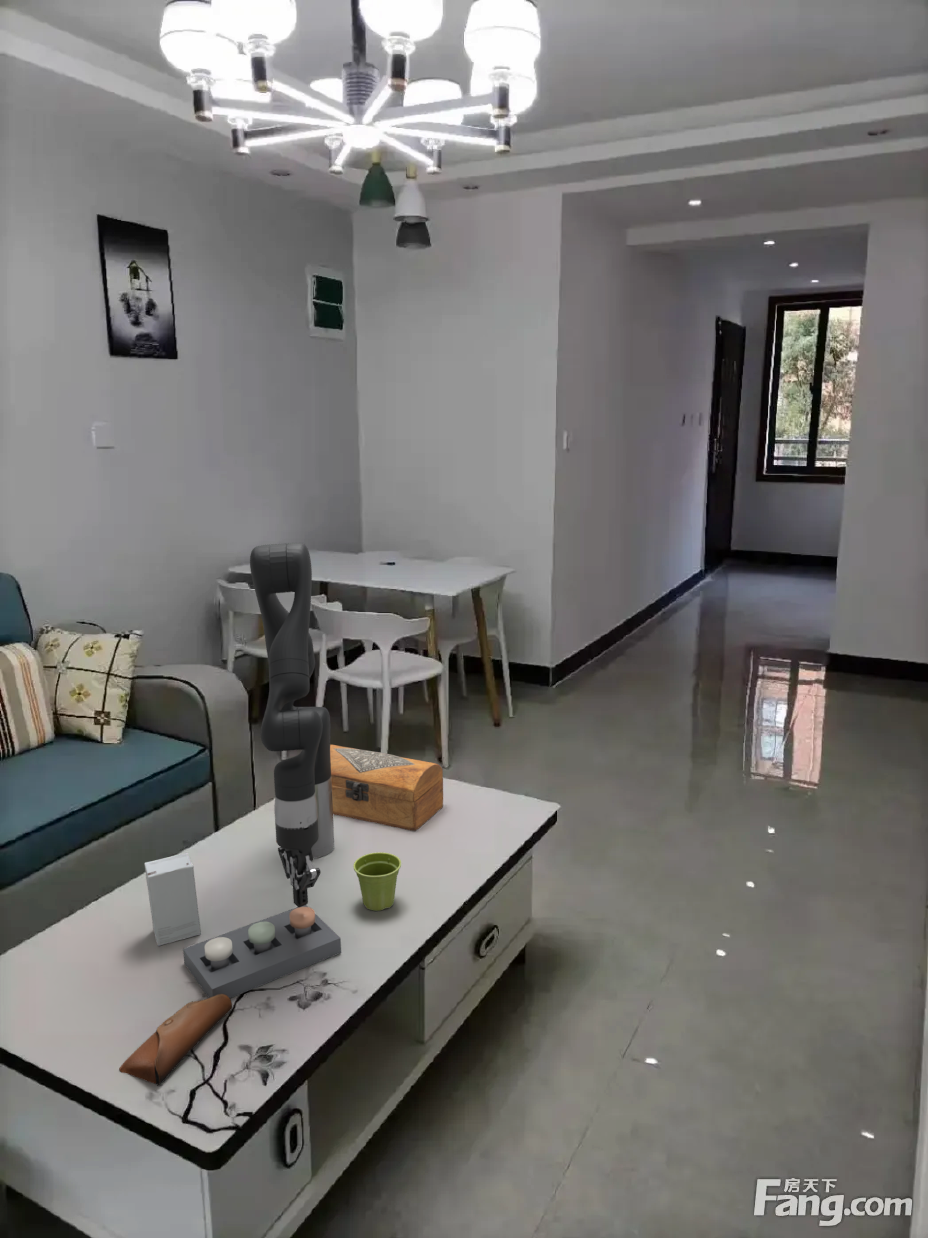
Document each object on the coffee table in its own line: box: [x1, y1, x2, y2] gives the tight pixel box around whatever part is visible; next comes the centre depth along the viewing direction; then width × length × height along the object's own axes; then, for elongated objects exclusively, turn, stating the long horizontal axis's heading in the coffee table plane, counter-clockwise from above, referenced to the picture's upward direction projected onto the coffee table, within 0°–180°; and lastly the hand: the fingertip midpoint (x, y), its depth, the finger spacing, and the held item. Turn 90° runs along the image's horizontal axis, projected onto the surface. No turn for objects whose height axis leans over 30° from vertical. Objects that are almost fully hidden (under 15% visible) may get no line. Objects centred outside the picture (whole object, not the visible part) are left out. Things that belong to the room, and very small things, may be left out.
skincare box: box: [144, 852, 202, 947], centre depth 165 cm, size 8×6×15 cm
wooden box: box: [330, 744, 444, 832], centre depth 216 cm, size 30×16×14 cm, turn 64°
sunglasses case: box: [118, 994, 233, 1087], centre depth 138 cm, size 18×7×7 cm
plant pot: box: [352, 851, 402, 912], centre depth 176 cm, size 9×9×9 cm
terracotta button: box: [289, 906, 316, 939], centre depth 163 cm, size 5×5×4 cm
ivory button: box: [205, 937, 233, 972], centre depth 154 cm, size 5×5×4 cm
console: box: [182, 904, 342, 999], centre depth 159 cm, size 14×24×3 cm, turn 127°
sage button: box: [248, 921, 275, 955], centre depth 158 cm, size 5×5×4 cm
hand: (301, 904), depth 162 cm, fingers closed
